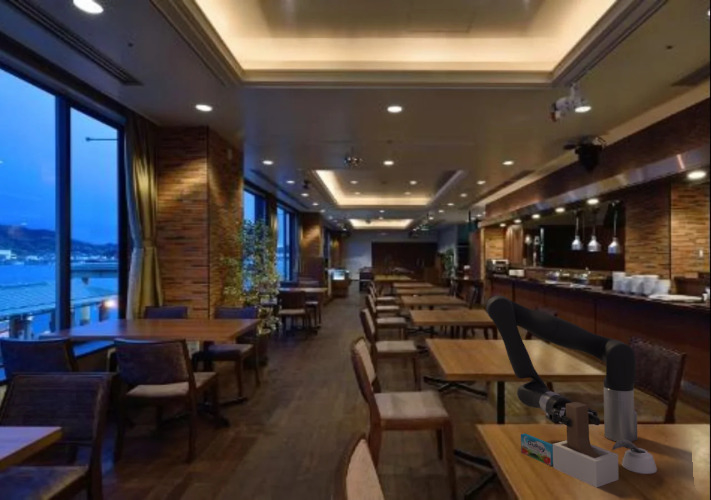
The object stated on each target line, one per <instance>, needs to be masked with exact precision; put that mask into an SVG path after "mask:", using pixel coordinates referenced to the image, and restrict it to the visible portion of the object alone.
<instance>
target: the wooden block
mask: <svg viewBox="0 0 711 500" xmlns="http://www.w3.org/2000/svg"><path fill="white" fill-rule="evenodd" d="M571 402H572V401H571ZM588 408H589V405H587V404H585V403H582V402H579V401H573V402H572V403H566V417H568V418H569V419H571V421H572V427H568V426H566V440H567V448H570V449H572V450H575V451H577V452H580V453H583V454H585V455H588V456H590V457H593V458H597V457H600V455H598V454H597V453H595V452H594V450H593V449H592V447H591V440H590V426H589V425H590V424H589V423H590V421H589V419H588Z"/></svg>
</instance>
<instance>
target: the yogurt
mask: <svg viewBox="0 0 711 500" xmlns="http://www.w3.org/2000/svg"><path fill="white" fill-rule="evenodd" d="M553 444H554V443H550V442H547V441H546V440H543V439H540V438H537V437H535V436H532V435H530V434H528V433H521V434H520V452H521V453H522V454H523V455H525V456H527V457H530V458H532V459H534V460H536V461H539V462H541V463H543V464H545V465H547V466H550V467H553Z"/></svg>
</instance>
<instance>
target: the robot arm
mask: <svg viewBox="0 0 711 500" xmlns="http://www.w3.org/2000/svg"><path fill="white" fill-rule="evenodd" d="M485 310H486V313H487V316H488V317H489V318H490V319H491V320H492V322H493V324H494V325H495V326H496V328H497V331H498V332H499V334H500V336H501V338H502V342H503V344H504V348H505V350H506V355H507V356H508V357H507V358H508V361H509V363H510V365H511V367H512V370H513V373H514V376H515V377H516V378H517V379H521V380H522V379H527V378H528V379H529V378H530V379H531V381H529V382H527V383H526V382H525V383H524V384H521V385H520V386H519V387H518V388H517V391H516V394H517V397H518V400H519V401H520V403H522V404H523V405H524V406H527V407H531V408H536V409H540V410H541V411H543V413H545V418H546V419H548V420H549V421H550V422H551V423H553V424H557V422H558V423H559V424H563V425H565V426H566V427H567V426H568V427H572V421H571V419H569V418H568V417H566V403H572V401H571V400H570V399H568V398H567V397H564V396H563V395H561V394H559V393H557V392H554V391H552V390H550V389H549V388H548V386H547V384H546V383H545V381H544V380H543V379H542V378H541V376H540V375H539V373H538V372H537V370H536V369H535V367H534V364H533V361H532V360H531V356H530V354H529V352H528V350H527V348H526V345H525V343H524V341H523V339H522V336H521V334H520V331H519V328H518V327H520V328H521V329H523V330H525V331H527V332H529V333H530V334H532V335H534V336H536V337H538V338H540V339H541V340H544V341H547V342H549V343H552V344H554V345H556V346H559V347H563V348H567V349H571V350H576V351H579V352H583V353H586V354H589V355H591V356H593V357H595V358H596V359H599V360H601V361H603V362H605V366H606V369H605V371H606V372H605V373H606V374H605V377H604V378H603V412H604V413H603V418H604V419H603V420H604V421H603V422H604V423H603V424H604V425H603V426H604V429H603V430H604V431H603V432H604V437H605V438H607V439H609V440H610V441H613V442H614V441H615V442H617V441H619V440H623V439H625V440H628V441H630V442H631V443H633V442H635V441H637V440H638V413H637V411H636V410H635V397H634V396H635V395H634V394H635V392H634V391H635V390H634V389H635V388H634V386H635V382H636V378H637V377H636V372H637V363H636V359H637V357H636V354H635V351H634V349H633V347H631V346H630V345H629V344H627V343H625V342H623V341H621V340H619V339H614V338H611V337H606V336H604V335H603V336H602V335H599V334H596V333H593V332H591V331H588V330H587V329H585V328H583V327H580V326H579V325H577V324H575V323H574V322H573V323H572V322H570V321H568V320H566V319H562V318H560V317H559V316H555V315H552V314H549V313H545V312H543V311H542V312H541V311H539V310H534V309H531V308H528V307H525V306H523V305H522V304H519V303H517V302H515V301H513V300H511V299H509V298H507V297H506V296H503V295H495V296H492V297H490V298H489V299H488V300H487V302H486V305H485ZM588 419H589V423H591V424H594V425H595V426H600V422H601V421H600V418H599V416H598V411H596V410H594V409H593V408H590V407H588Z"/></svg>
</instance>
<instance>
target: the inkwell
mask: <svg viewBox="0 0 711 500" xmlns="http://www.w3.org/2000/svg"><path fill="white" fill-rule="evenodd" d="M620 448H624V449H627V450H625V453H624V455H623V458H622V461H621V465H622V467H623V468H625V470H628V471H630V472H632V473H636V474H641V475H652V474H655V473H657V471H658V469H657V468H658V467H657V465H656V461H655V459H654V456H653V454H652V453H650V452H648V451H647V450H646V449H644V448H641V447H637V446H636V445H635V444H634V443H633V442H630V441H628V440H625V439H623V440H619V441H615V443H614V445H613V447H612V451H613V450H616V449H620Z"/></svg>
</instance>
